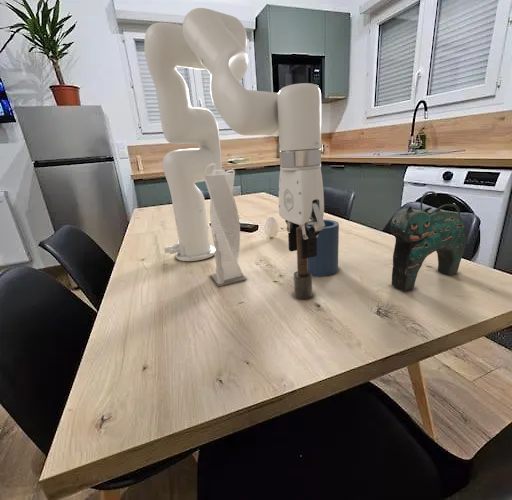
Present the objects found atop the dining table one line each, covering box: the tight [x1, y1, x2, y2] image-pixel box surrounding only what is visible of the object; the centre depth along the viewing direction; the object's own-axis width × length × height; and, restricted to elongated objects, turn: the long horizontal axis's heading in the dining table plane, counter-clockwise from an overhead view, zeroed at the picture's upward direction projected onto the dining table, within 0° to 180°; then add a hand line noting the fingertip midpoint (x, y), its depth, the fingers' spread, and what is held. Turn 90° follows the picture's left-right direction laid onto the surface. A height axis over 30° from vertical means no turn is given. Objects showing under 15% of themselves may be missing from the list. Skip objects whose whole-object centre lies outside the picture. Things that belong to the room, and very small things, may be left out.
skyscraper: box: [204, 163, 247, 287], centre depth 71 cm, size 8×8×28 cm
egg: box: [263, 215, 280, 238], centre depth 105 cm, size 5×5×8 cm
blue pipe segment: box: [307, 218, 340, 277], centre depth 74 cm, size 9×9×12 cm
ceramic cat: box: [390, 190, 467, 292], centre depth 63 cm, size 20×6×20 cm, turn 114°
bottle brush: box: [293, 226, 313, 300], centre depth 61 cm, size 4×4×15 cm
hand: (302, 252), depth 61 cm, fingers open, 4 cm apart
